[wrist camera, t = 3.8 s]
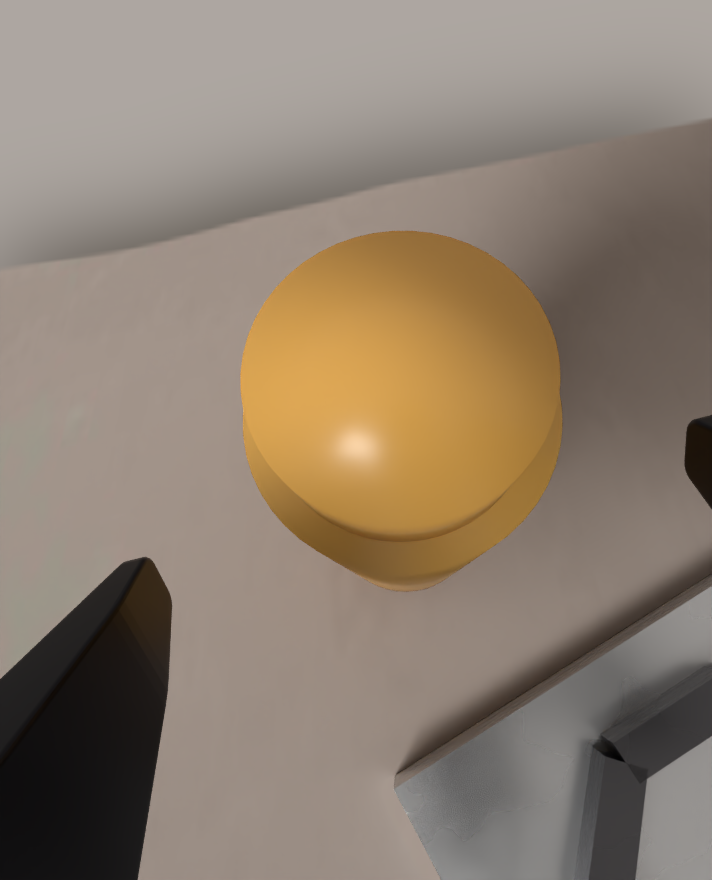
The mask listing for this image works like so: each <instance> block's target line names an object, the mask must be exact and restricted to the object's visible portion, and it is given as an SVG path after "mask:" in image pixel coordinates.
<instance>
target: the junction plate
mask: <svg viewBox="0 0 712 880" xmlns="http://www.w3.org/2000/svg"><path fill="white" fill-rule="evenodd" d="M394 791H395V792H396V794H397V796H398V798H399V800H400V802H401V804H402V806H403V808H404V810H405V812H406V813H407V815H408V817H409V819H410V821H411V823H412V825H413V827H414V829H415V831H416V832H417V834H418V836H419V838H420V840H421V842H422V844H423V846H424V848H425V850H426V852H427V853H428V855H429V857H430V859H431V861H432V863H433V865H434V867H435V869H436V871H437V873H438V874H439V876H440V878H441V880H712V574H711V575H709V576H707V577H706V578H704V579H703V580H701V581H700V582H698V583H696V584H695V585H693V586H692V587H690V588H689V589H687V590H685V591H684V592H682V593H681V594H679V595H678V596H676V597H674V598H673V599H671V600H670V601H668V602H667V603H665V604H663V605H662V606H660V607H659V608H657V609H656V610H654V611H653V612H651V613H649V614H648V615H646V616H645V617H643V618H642V619H640V620H638V621H637V622H635V623H634V624H632V625H631V626H629V627H627V628H626V629H624V630H623V631H621V632H620V633H618V634H616V635H615V636H613V637H612V638H610V639H609V640H607V641H605V642H604V643H602V644H601V645H599V646H598V647H596V648H594V649H593V650H591V651H590V652H588V653H587V654H585V655H583V656H582V657H580V658H579V659H577V660H576V661H574V662H572V663H571V664H569V665H568V666H566V667H565V668H563V669H562V670H560V671H558V672H557V673H555V674H554V675H552V676H551V677H549V678H547V679H546V680H544V681H543V682H541V683H540V684H538V685H536V686H535V687H533V688H532V689H530V690H529V691H527V692H525V693H524V694H522V695H521V696H519V697H518V698H516V699H514V700H513V701H511V702H510V703H508V704H507V705H505V706H503V707H502V708H500V709H499V710H497V711H496V712H494V713H492V714H491V715H489V716H488V717H486V718H485V719H483V720H481V721H480V722H478V723H477V724H475V725H474V726H472V727H471V728H469V729H467V730H466V731H464V732H463V733H461V734H460V735H458V736H456V737H455V738H453V739H452V740H450V741H449V742H447V743H445V744H444V745H442V746H441V747H439V748H438V749H436V750H434V751H433V752H431V753H430V754H428V755H427V756H425V757H423V758H422V759H420V760H419V761H417V762H416V763H414V764H412V765H411V766H409V767H408V768H406V769H405V770H403V771H401V772H400V773H398V774H397V775H395V779H394Z"/></svg>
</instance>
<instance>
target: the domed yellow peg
mask: <svg viewBox="0 0 712 880" xmlns="http://www.w3.org/2000/svg"><path fill="white" fill-rule="evenodd" d="M560 381H561V380H560V360H559V354H558V349H557V344H556V340H555V337H554V334H553V331H552V328H551V325H550V322H549V320H548V319H547V317H546V315H545V313H544V311H543V309H542V307H541V305H540V304H539V302H538V301H537V299H536V298H535V296H534V295H533V293H532V292H531V290H530V289H529V288H528V287H527V286H526V285H525V284H524V283H523V282H522V280H521V279H520V278H519V277H518V276H517V275H516V274H515V273H514V272H512V271H511V270H510V269H509V268H508V267H506V266H505V265H504V264H503V263H502V262H500V261H499V260H497V259H495V258H494V257H492V256H491V255H489V254H488V253H486V252H484V251H482V250H480V249H478V248H476V247H474V246H472V245H470V244H468V243H465V242H462V241H459V240H457V239H454V238H451V237H447V236H442V235H438V234H433V233H426V232H417V231H389V232H380V233H372V234H368V235H364V236H360V237H355V238H352V239H349V240H347V241H344V242H341V243H338V244H336V245H334V246H331V247H329V248H327V249H325V250H323V251H321V252H319V253H318V254H316V255H314V256H313V257H311V258H310V259H308V260H307V261H305V262H303V263H302V264H301V265H300V266H299V267H297V268H296V269H295V270H294V271H292V272H291V273H290V274H289V275H288V276H287V277H286V278H285V279H284V280H283V281H282V282H281V283H280V284H279V285H278V286H277V287H276V288H275V290H274V291H273V292H272V293H271V295H270V296H269V297H268V299H267V300H266V301H265V303H264V304H263V306H262V308H261V310H260V311H259V313H258V315H257V317H256V318H255V320H254V323H253V325H252V328H251V330H250V332H249V335H248V338H247V341H246V345H245V349H244V353H243V358H242V366H241V397H242V404H243V410H244V412H243V437H244V444H245V450H246V456H247V459H248V463H249V466H250V469H251V473H252V475H253V478H254V480H255V482H256V484H257V486H258V489H259V491H260V493H261V494H262V496H263V497H264V499H265V501H266V502H267V504H268V505H269V507H270V509H271V510H272V511H273V512H274V514H275V515H276V516H277V517H278V518H279V519H280V521H281V522H282V523H283V524H284V525H285V526H286V527H287V528H288V529H289V530H290V531H291V532H292V533H294V534H295V535H296V536H297V537H298V538H299V539H300V540H302V541H303V542H305V543H306V544H308V545H309V546H311V547H312V548H314V549H315V550H316V551H318V552H320V553H321V554H323V555H325V556H326V557H328V558H330V559H332V560H333V561H335V562H337V563H338V564H340V565H342V566H344V567H345V568H347V569H349V570H350V571H352V572H354V573H355V574H357V575H359V576H361V577H362V578H364V579H366V580H367V581H369V582H371V583H373V584H375V585H377V586H379V587H382V588H385V589H388V590H394V591H403V592H409V591H418V590H423V589H426V588H429V587H432V586H434V585H436V584H438V583H440V582H442V581H443V580H445V579H446V578H448V577H449V576H451V575H452V574H454V573H455V572H457V571H458V570H460V569H461V568H462V567H464V566H465V565H467V564H468V563H470V562H471V561H473V560H474V559H476V558H477V557H478V556H480V555H481V554H483V553H484V552H486V551H487V550H489V549H490V548H492V547H493V546H494V545H496V544H497V543H499V542H500V541H501V540H503V539H504V538H506V537H507V536H508V535H509V534H510V533H511V532H512V531H513V530H514V529H515V528H516V527H518V526H519V525H520V524H521V523H522V522H523V521H524V519H525V518H526V517H527V516H528V514H529V513H530V512H531V511H532V509H533V508H534V507H535V506H536V504H537V503H538V501H539V499H540V498H541V496H542V494H543V492H544V491H545V489H546V487H547V486H548V483H549V481H550V478H551V476H552V473H553V471H554V468H555V466H556V462H557V458H558V454H559V450H560V446H561V436H562V426H563V425H562V404H561V399H560V394H559V391H560Z"/></svg>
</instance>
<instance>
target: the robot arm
mask: <svg viewBox="0 0 712 880" xmlns="http://www.w3.org/2000/svg"><path fill="white" fill-rule="evenodd" d="M684 462H685V470H686V473H687V475H688V477H689V479H690V480H691V481H692V483H693V484H694V486H695V487H696V488H697V490H698V491H699V492H700V494H701V495H702V497H703V498H704V499H705V501H706V502H707V503H708V505H709V506H710V508H711V509H712V415H710V416H706V417H702V418H698V419H694V420H692V421H691V422H690V423H689V424H688V427H687V432H686V447H685V461H684ZM171 617H172V601H171V596H170V593H169V591H168V589H167V587H166V585H165V583H164V581H163V579H162V577H161V575H160V574H159V572H158V570H157V568H156V566H155V564H154V563H153V561H152V560H151V559H150V558H147V557H142V558H138V559H134V560H130V561H126V562H124V563H122V564H121V565H120V566H119V567H118V568H116V569H115V570H114V571H113V572H112V573H111V574H110V575H109V576H108V577H107V578H106V579H105V580H104V581H103V582H102V583H101V584H100V585H99V586H98V587H97V588H95V589H94V590H93V591H92V592H91V593H90V594H89V595H88V596H87V597H86V598H85V599H84V600H83V601H82V602H81V603H80V604H79V605H78V606H77V607H76V608H74V609H73V610H72V611H71V612H70V613H69V614H68V615H67V616H66V617H65V618H64V619H63V620H62V621H61V622H60V623H59V624H58V625H57V626H56V627H55V628H53V629H52V630H51V631H50V632H49V633H48V634H47V635H46V636H45V637H44V638H43V639H42V640H41V641H40V642H39V643H38V644H37V645H36V646H35V647H33V648H32V649H31V650H30V651H29V652H28V653H27V654H26V655H25V656H24V657H23V658H22V659H21V660H20V661H19V662H18V663H17V664H16V665H15V666H14V667H12V668H11V669H10V670H9V671H8V672H7V673H6V674H5V675H4V676H3V677H2V678H1V679H0V880H138V874H139V868H140V862H141V855H142V849H143V843H144V837H145V831H146V825H147V818H148V812H149V806H150V800H151V794H152V788H153V781H154V775H155V769H156V763H157V757H158V750H159V744H160V738H161V732H162V726H163V720H164V713H165V707H166V700H167V693H168V681H169V661H170V639H171Z"/></svg>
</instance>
